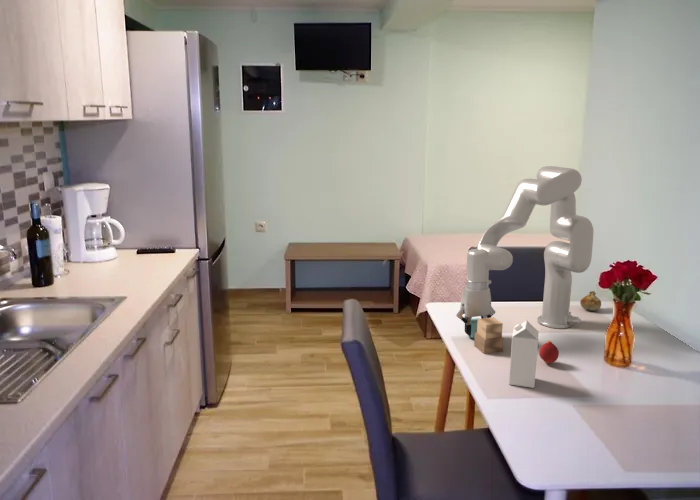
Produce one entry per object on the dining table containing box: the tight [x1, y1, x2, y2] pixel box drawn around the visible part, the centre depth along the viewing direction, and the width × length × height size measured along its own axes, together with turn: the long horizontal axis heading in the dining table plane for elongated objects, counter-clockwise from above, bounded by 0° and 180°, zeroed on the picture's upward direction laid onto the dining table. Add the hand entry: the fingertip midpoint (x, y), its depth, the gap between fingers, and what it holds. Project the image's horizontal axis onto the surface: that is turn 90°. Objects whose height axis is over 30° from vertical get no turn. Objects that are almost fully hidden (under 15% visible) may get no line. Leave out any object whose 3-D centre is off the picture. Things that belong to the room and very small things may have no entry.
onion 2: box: [579, 290, 602, 312], centre depth 227 cm, size 8×8×8 cm
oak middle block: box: [477, 316, 504, 339], centre depth 189 cm, size 6×6×5 cm
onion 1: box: [538, 339, 560, 365], centre depth 177 cm, size 6×6×8 cm
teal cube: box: [469, 317, 480, 339], centre depth 199 cm, size 5×5×5 cm
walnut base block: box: [473, 332, 505, 355], centre depth 189 cm, size 7×7×5 cm
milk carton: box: [508, 317, 540, 389], centre depth 164 cm, size 7×7×19 cm
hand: (475, 332), depth 200 cm, fingers closed on teal cube, 4 cm apart
